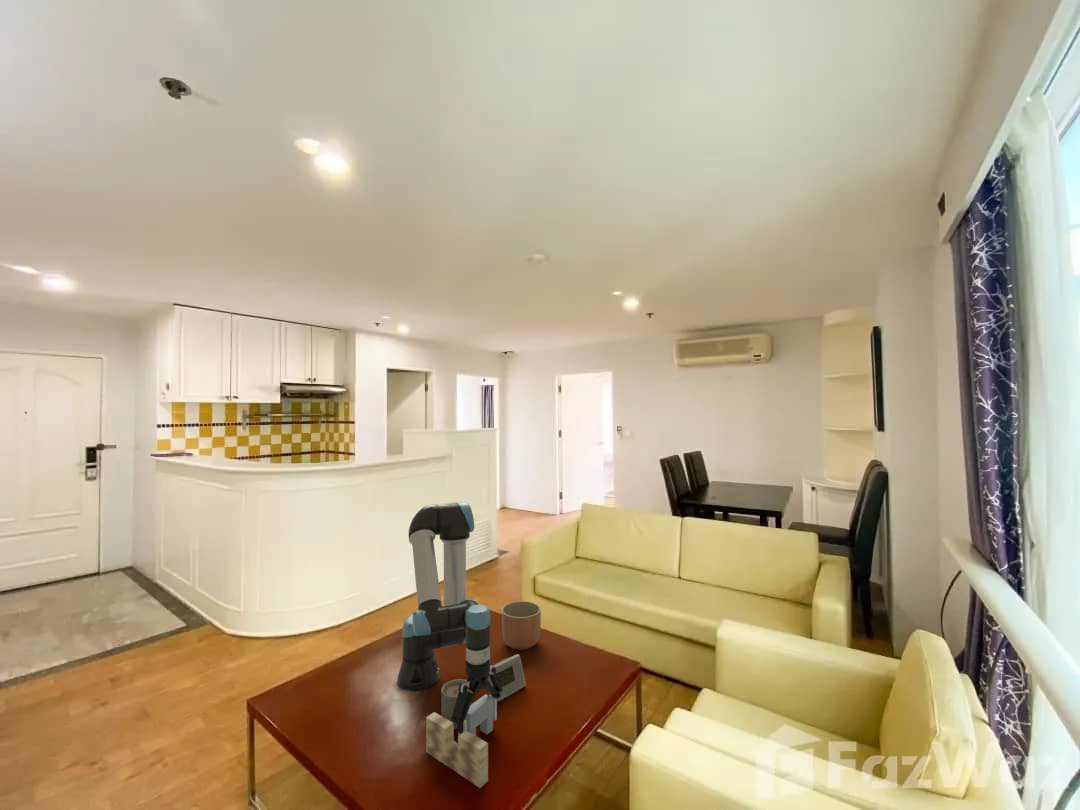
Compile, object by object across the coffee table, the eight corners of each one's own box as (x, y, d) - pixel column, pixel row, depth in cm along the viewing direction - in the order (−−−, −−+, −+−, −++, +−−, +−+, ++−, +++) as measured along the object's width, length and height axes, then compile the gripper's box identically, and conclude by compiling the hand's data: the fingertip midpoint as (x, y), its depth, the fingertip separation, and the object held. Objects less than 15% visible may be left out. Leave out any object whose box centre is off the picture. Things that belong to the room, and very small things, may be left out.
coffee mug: (474, 725, 144) (474, 693, 144) (442, 732, 141) (442, 699, 141) (468, 700, 157) (468, 671, 157) (439, 706, 154) (439, 676, 154)
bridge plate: (462, 744, 135) (462, 710, 136) (485, 726, 143) (485, 694, 144) (469, 748, 134) (469, 714, 134) (492, 730, 142) (492, 697, 142)
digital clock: (490, 707, 153) (490, 675, 153) (479, 693, 160) (478, 663, 161) (531, 691, 162) (530, 661, 162) (518, 679, 169) (518, 650, 170)
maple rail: (426, 751, 132) (426, 717, 133) (434, 745, 135) (434, 711, 135) (480, 788, 119) (480, 749, 120) (488, 780, 122) (487, 743, 122)
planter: (540, 654, 187) (540, 617, 187) (499, 654, 187) (499, 617, 187) (541, 635, 204) (541, 600, 204) (503, 634, 204) (503, 600, 204)
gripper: (456, 681, 127) (456, 759, 126) (513, 646, 147) (513, 713, 146) (438, 673, 132) (438, 748, 131) (495, 639, 151) (496, 704, 151)
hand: (478, 729), depth 139 cm, fingers open, 12 cm apart
